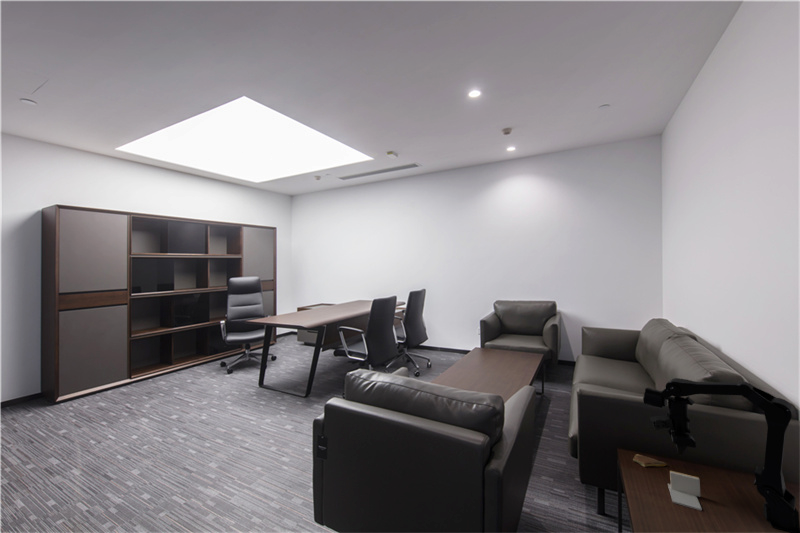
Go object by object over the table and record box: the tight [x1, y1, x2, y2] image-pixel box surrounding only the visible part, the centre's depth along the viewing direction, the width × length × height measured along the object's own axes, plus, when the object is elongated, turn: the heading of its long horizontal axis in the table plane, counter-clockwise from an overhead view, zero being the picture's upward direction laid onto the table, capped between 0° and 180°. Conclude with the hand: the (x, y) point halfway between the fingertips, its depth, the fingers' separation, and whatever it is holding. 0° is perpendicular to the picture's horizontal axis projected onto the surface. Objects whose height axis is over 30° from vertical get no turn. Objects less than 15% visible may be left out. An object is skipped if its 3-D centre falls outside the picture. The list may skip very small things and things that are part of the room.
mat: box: [667, 483, 703, 512], centre depth 114 cm, size 8×11×1 cm
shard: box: [632, 453, 668, 468], centre depth 134 cm, size 11×8×2 cm
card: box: [669, 470, 701, 498], centre depth 116 cm, size 8×2×6 cm, turn 57°
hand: (680, 453), depth 121 cm, fingers closed
